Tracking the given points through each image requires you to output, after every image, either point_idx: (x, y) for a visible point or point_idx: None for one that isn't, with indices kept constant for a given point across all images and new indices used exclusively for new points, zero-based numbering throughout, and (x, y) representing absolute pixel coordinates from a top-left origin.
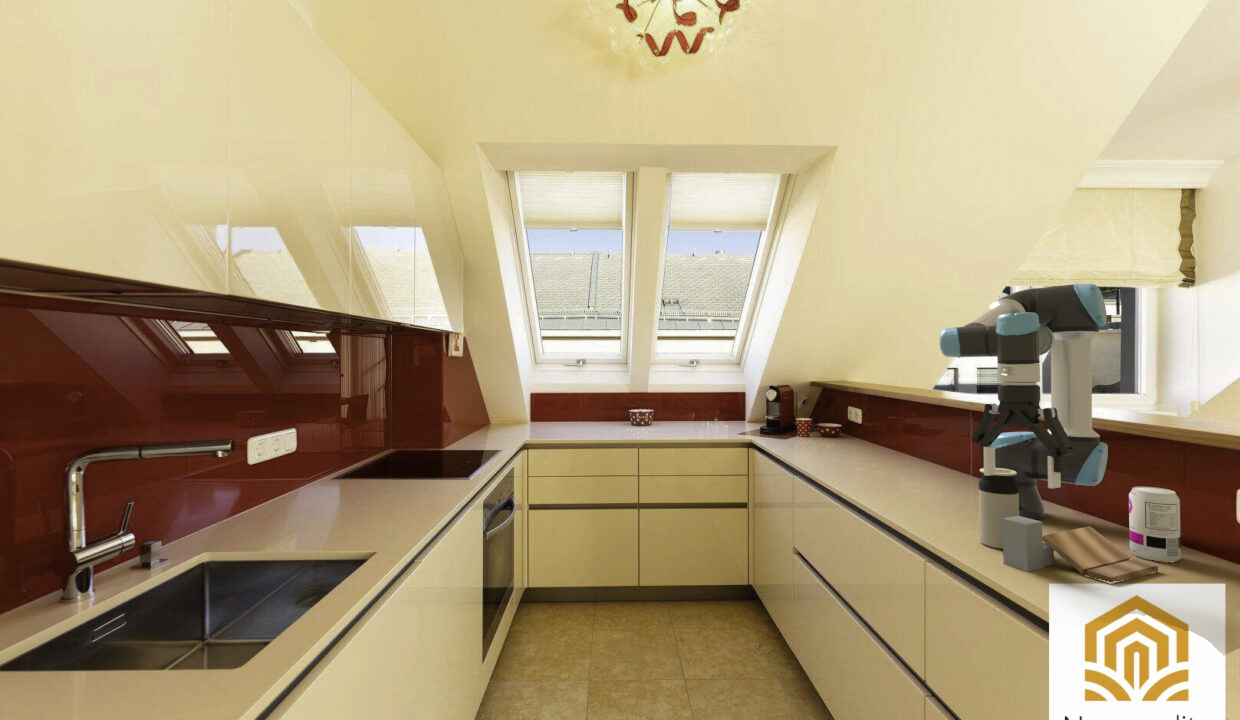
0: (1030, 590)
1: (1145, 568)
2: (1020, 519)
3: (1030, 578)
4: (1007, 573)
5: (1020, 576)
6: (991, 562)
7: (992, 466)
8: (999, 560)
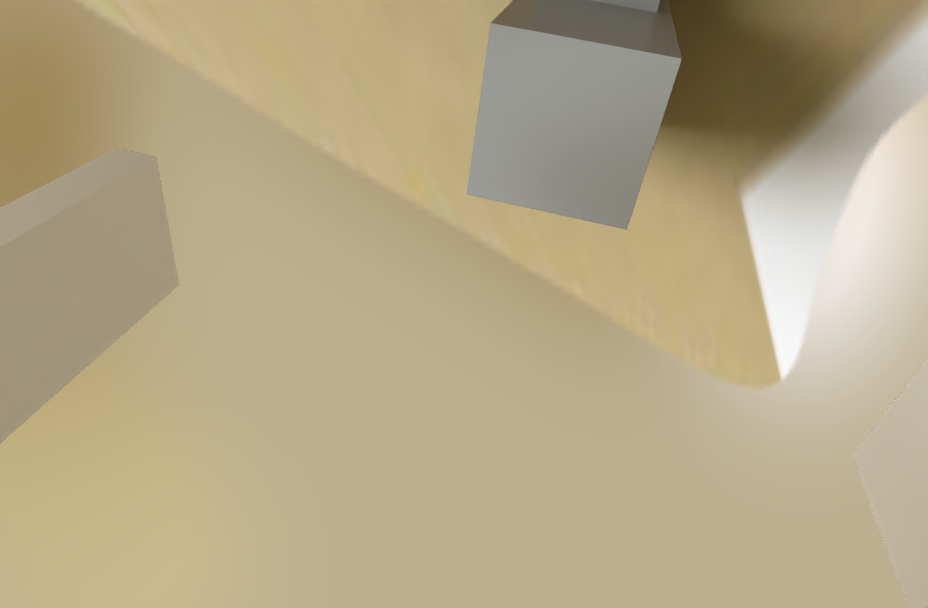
0: (705, 318)
1: None
2: (549, 124)
3: (667, 196)
4: None
5: None
6: None
7: (87, 260)
8: None
